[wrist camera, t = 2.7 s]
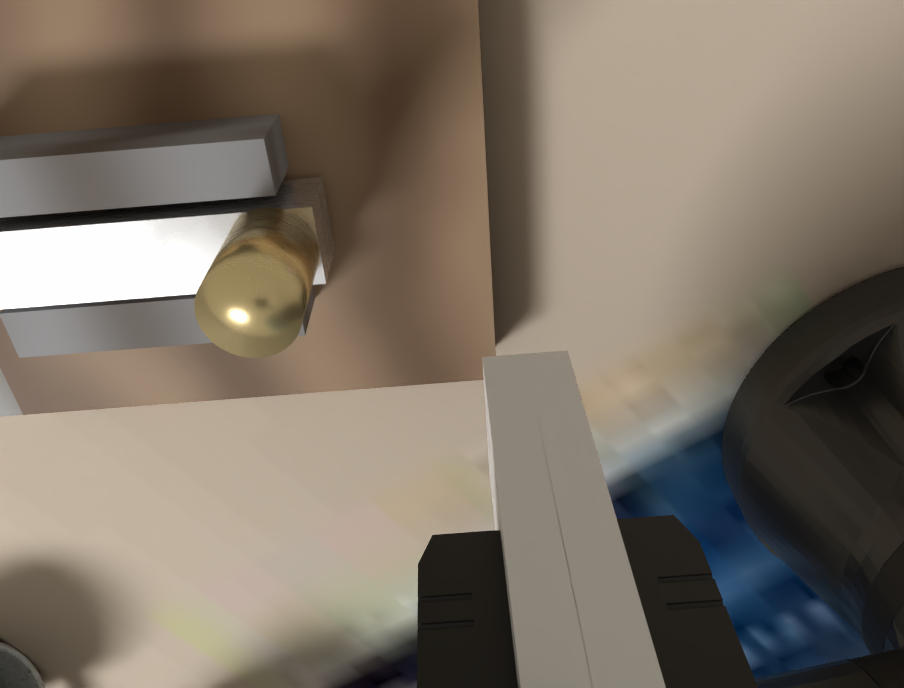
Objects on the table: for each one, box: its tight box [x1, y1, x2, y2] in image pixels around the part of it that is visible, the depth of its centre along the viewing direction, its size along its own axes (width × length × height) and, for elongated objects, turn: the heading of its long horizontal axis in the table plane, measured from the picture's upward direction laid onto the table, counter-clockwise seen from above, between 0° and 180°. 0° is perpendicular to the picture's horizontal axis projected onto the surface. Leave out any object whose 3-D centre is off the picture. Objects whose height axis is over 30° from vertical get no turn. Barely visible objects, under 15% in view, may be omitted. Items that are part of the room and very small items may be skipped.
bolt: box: [0, 177, 335, 358], centre depth 21 cm, size 12×3×6 cm, turn 94°
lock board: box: [0, 0, 496, 416], centre depth 22 cm, size 28×14×8 cm, turn 94°
